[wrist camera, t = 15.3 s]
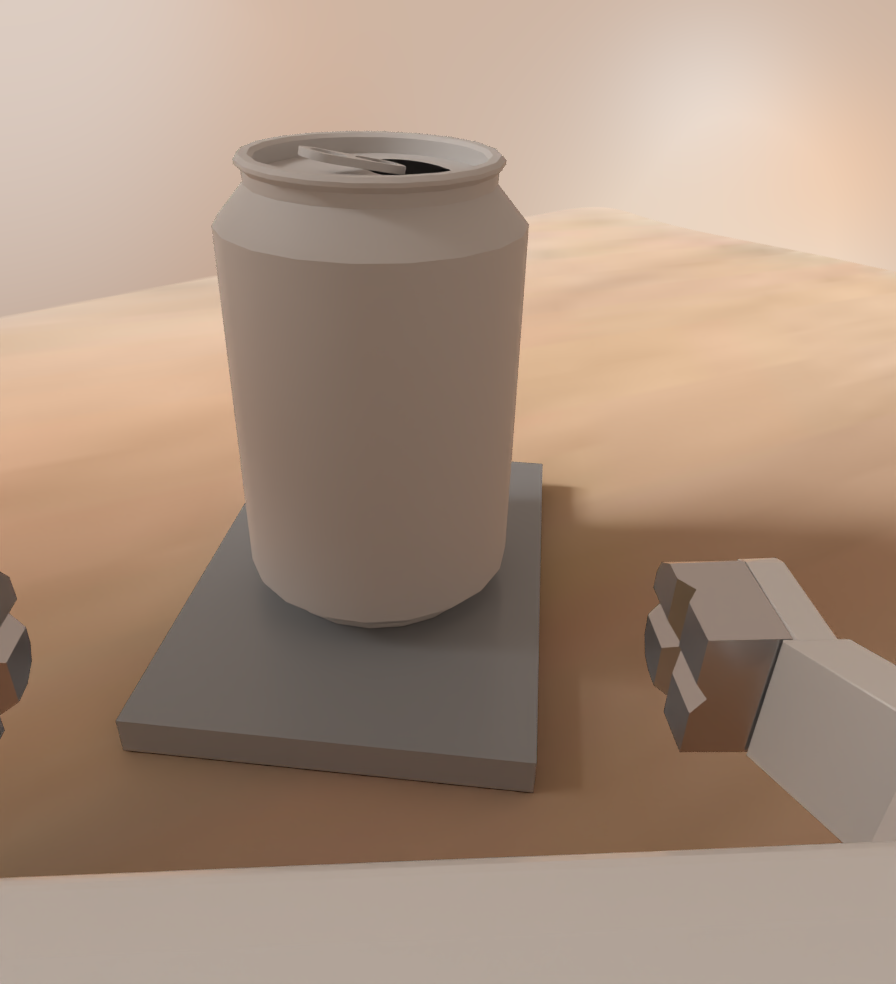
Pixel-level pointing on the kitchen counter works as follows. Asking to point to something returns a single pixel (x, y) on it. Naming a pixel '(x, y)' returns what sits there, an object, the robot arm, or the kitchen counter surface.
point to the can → (373, 366)
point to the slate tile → (353, 675)
